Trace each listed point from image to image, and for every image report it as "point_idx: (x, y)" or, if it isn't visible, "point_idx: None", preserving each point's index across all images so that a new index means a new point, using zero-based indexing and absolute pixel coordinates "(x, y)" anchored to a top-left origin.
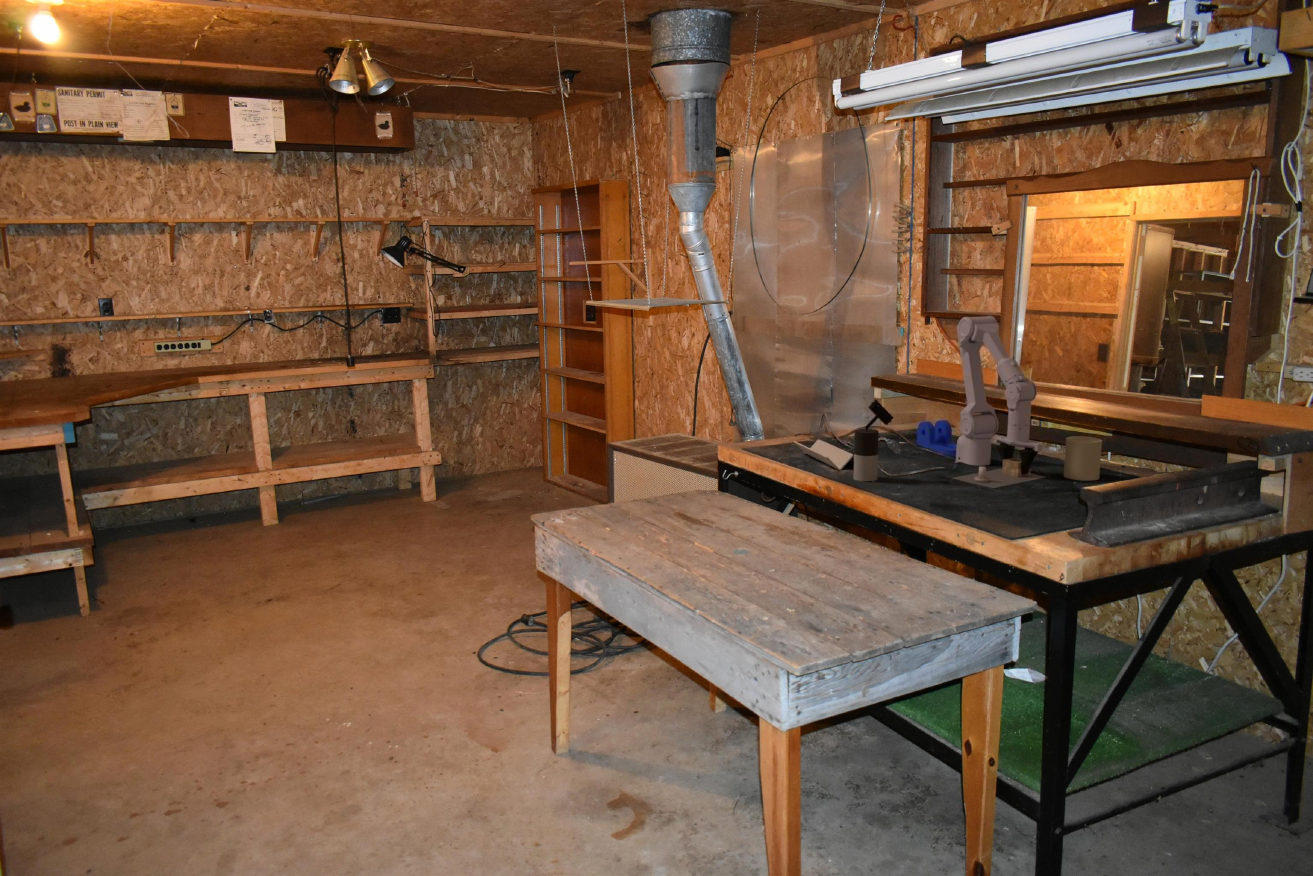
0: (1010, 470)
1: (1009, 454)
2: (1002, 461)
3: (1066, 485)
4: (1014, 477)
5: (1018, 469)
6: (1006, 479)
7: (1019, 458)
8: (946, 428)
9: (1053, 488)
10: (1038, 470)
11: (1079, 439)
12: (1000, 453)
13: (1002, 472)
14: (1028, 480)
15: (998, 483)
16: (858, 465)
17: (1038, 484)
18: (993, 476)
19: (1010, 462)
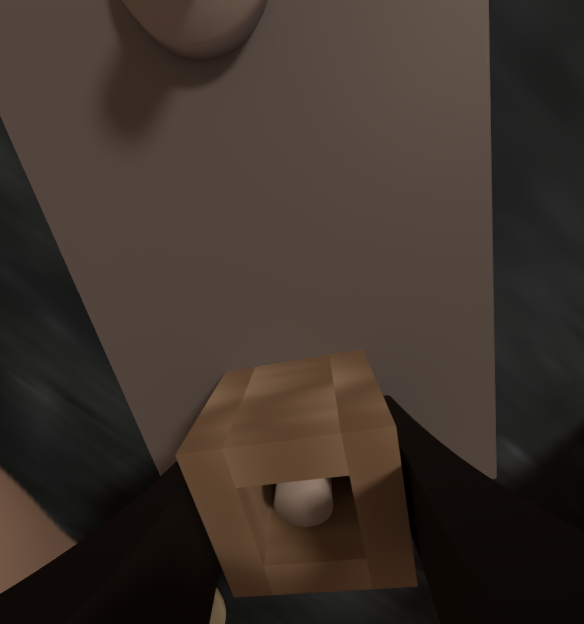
0: (283, 381)
1: (438, 581)
2: (428, 434)
3: (71, 498)
4: (222, 346)
5: (205, 412)
6: (186, 250)
7: (359, 587)
8: None
9: (18, 409)
10: (391, 594)
11: None
12: (511, 507)
13: (359, 353)
14: (119, 370)
15: (66, 74)
16: None
17: (117, 403)
18: (311, 219)
19: (280, 431)
